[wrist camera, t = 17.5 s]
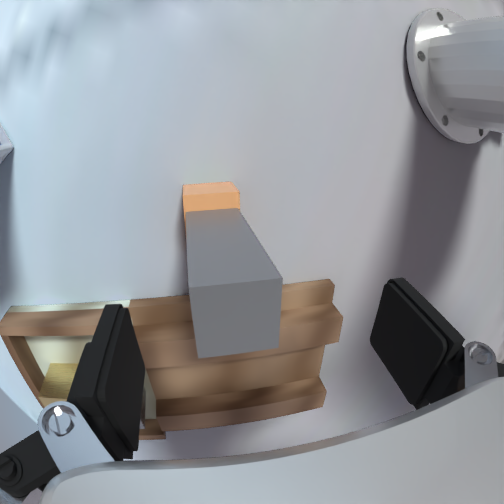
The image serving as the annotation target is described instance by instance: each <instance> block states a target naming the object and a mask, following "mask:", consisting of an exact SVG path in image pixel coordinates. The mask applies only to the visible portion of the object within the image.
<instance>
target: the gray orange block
mask: <svg viewBox="0 0 504 504" xmlns="http://www.w3.org/2000/svg"><path fill="white" fill-rule="evenodd" d="M183 207H184V220H185V232H186V244H187V267H188V286H189V295H190V303H191V311H192V319H193V326H194V333H195V340H196V347H197V353H198V358H207V357H216V356H224V355H232V354H240V353H247V352H254V351H261V350H267V349H274V348H279V333H280V317H281V299H282V279H283V278H282V276H281V275H280V273H279V271H278V270H277V268H276V267H275V265H274V264H273V262H272V260H271V259H270V257H269V256H268V254H267V253H266V251H265V250H264V248H263V246H262V245H261V243H260V242H259V240H258V239H257V237H256V235H255V234H254V232H253V231H252V229H251V228H250V226H249V225H248V223H247V221H246V220H245V218H244V217H243V215H242V214H241V212H240V195H239V190H238V189H237V188H236V187H235V186H234V184H233V183H232V182H218V183H203V184H189V185H183Z"/></svg>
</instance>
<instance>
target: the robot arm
mask: <svg viewBox="0 0 504 504" xmlns="http://www.w3.org/2000/svg"><path fill="white" fill-rule="evenodd" d="M407 63H408V69H409V75H410V78H411V82H412V86H413V89H414V91H415V94H416V96H417V99H418V102H419V103H420V105H421V107H422V109H423V111H424V113H425V115H426V116H427V118H428V119H429V120H430V122H431V123H432V125H433V126H434V127H435V128H436V129H437V130H438V131H439V132H440V133H441V134H443V135H444V136H445V137H447V138H448V139H450V140H453V141H455V142H460V143H465V144H471V143H476V142H478V141H480V140H482V139H483V138H484V137H485V136H486V135H487V134H488V132H489V131H495V132H500V133H504V16H496V17H486V18H478V19H471V20H466V19H464V18H463V17H462V16H460V15H459V14H457V13H455V12H453V11H451V10H449V9H444V8H434V9H430V10H427V11H424V12H422V13H421V14H419V15H418V16H417V17H416V18H415V20H414V21H413V22H412V24H411V27H410V30H409V32H408V38H407ZM464 340H465V339H464V338H463V337H462V335H461V334H460V333H459V332H458V331H457V330H456V329H455V328H454V327H453V326H452V325H451V324H450V323H449V322H448V321H447V320H446V319H445V318H444V317H443V316H442V315H441V314H440V313H439V312H438V311H437V310H436V309H435V308H434V307H433V306H432V305H431V304H430V303H429V302H428V301H427V300H426V299H425V298H424V297H423V296H422V295H421V294H420V293H419V292H418V291H417V290H416V289H415V288H414V287H413V286H412V285H411V284H409V283H408V282H407V281H406V280H405V279H404V278H396V279H390V280H389V281H388V282H387V284H385V285H384V288H383V292H382V296H381V300H380V304H379V308H378V312H377V315H376V319H375V322H374V326H373V329H372V333H371V336H370V342H371V345H372V347H373V348H374V350H375V351H376V353H377V354H378V356H379V357H380V359H381V360H382V362H383V363H384V365H385V366H386V368H387V369H388V371H389V372H390V374H391V375H392V377H393V378H394V380H395V382H396V383H397V385H398V386H399V388H400V389H401V391H402V392H403V394H404V396H405V397H406V399H407V400H408V402H409V403H410V404H413V405H414V407H415V408H416V410H415V411H413V412H410V413H408V414H405V415H402V416H400V417H397V418H394V419H391V420H389V421H386V422H383V423H380V424H377V425H374V426H371V427H368V428H365V429H361V430H358V431H355V432H351V433H348V434H344V435H340V436H337V437H333V438H329V439H325V440H321V441H317V442H312V443H308V444H303V445H298V446H293V447H288V448H283V449H277V450H272V451H265V452H259V453H252V454H244V455H235V456H226V457H214V458H201V459H184V460H142V461H123V459H133V451H137V450H138V444H139V429H140V417H141V406H142V396H143V387H144V379H145V364H144V361H143V358H142V354H141V351H140V348H139V345H138V341H137V338H136V335H135V331H134V327H133V324H132V320H131V317H130V313H129V310H128V308H123V305H122V304H106V305H105V306H104V309H103V311H102V314H101V317H100V319H99V322H98V325H97V327H96V330H95V333H94V335H93V338H92V341H91V342H88V343H86V345H85V347H84V349H83V352H82V355H81V358H80V360H79V363H78V366H77V369H76V372H75V375H74V378H73V382H72V385H71V388H70V391H69V394H68V398H67V401H66V402H65V401H57V402H54V403H51V404H49V405H48V406H46V407H45V408H44V409H43V410H42V411H41V413H40V415H39V417H38V424H37V425H38V429H39V430H38V431H36V432H35V433H33V434H32V435H30V436H28V437H27V438H25V439H24V440H22V441H21V442H19V443H17V444H16V445H14V446H12V447H11V448H9V449H7V450H6V451H4V452H3V453H1V454H0V504H504V364H501V363H498V362H497V361H496V356H495V353H494V352H493V350H492V349H491V348H490V347H489V346H487V345H486V344H484V343H481V342H476V341H474V342H470V343H468V344H467V345H466V346H465V348H464V347H463V346H462V344H463V342H464ZM429 403H430V405H428V404H429Z"/></svg>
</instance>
